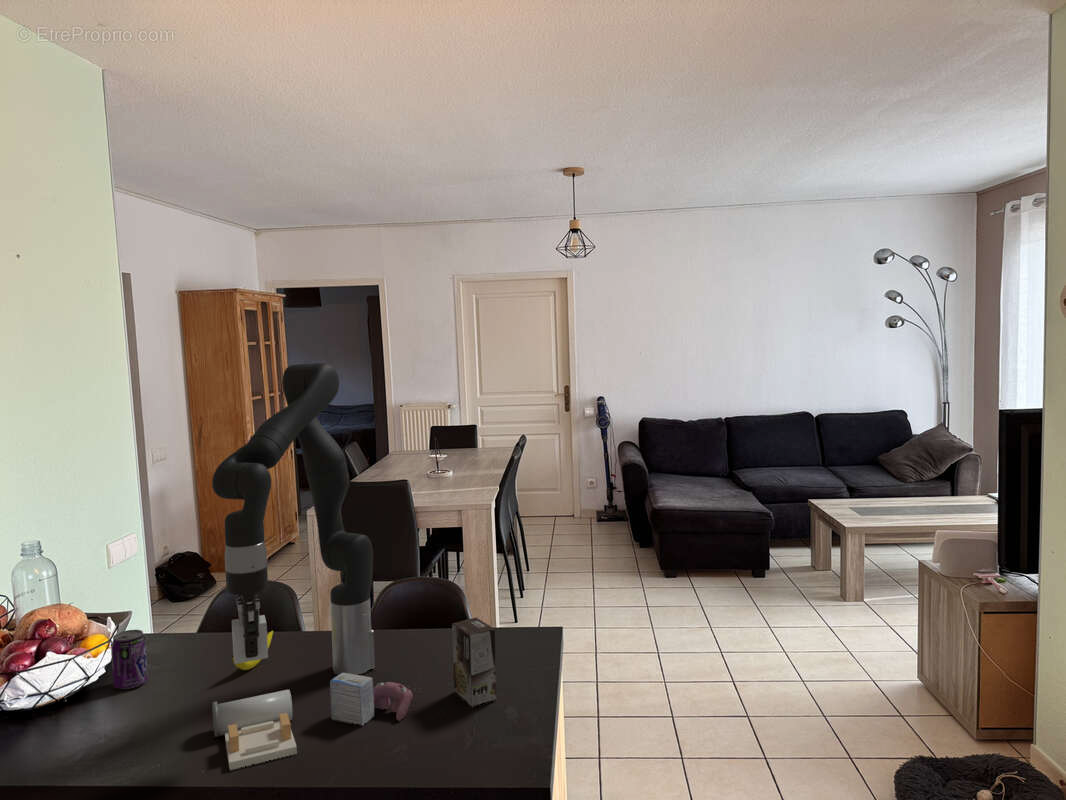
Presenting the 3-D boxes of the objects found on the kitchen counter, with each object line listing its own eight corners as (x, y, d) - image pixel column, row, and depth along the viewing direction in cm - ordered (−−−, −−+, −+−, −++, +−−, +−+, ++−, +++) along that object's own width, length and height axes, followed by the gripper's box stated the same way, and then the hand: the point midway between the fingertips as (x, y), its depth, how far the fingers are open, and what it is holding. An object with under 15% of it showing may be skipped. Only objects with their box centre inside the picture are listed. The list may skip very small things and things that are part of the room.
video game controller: (410, 722, 158) (418, 687, 160) (398, 721, 154) (406, 685, 156) (372, 713, 162) (380, 679, 164) (360, 712, 158) (368, 677, 161)
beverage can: (133, 692, 170) (130, 641, 169) (106, 690, 171) (103, 639, 170) (154, 679, 177) (152, 629, 176) (128, 676, 178) (125, 627, 177)
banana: (278, 649, 193) (277, 625, 193) (239, 682, 175) (238, 655, 174) (268, 648, 194) (267, 624, 193) (228, 681, 175) (226, 655, 174)
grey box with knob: (265, 649, 148) (263, 607, 148) (268, 657, 144) (266, 614, 143) (233, 655, 146) (231, 612, 145) (234, 663, 142) (232, 619, 141)
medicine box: (375, 717, 157) (373, 677, 157) (362, 727, 153) (361, 686, 152) (343, 710, 160) (342, 671, 160) (330, 720, 156) (329, 680, 155)
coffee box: (497, 700, 163) (496, 628, 162) (471, 708, 160) (469, 635, 159) (478, 684, 171) (476, 616, 170) (452, 692, 168) (451, 622, 167)
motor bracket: (288, 711, 160) (287, 681, 160) (302, 752, 144) (301, 719, 143) (213, 727, 154) (212, 696, 153) (219, 773, 137) (217, 738, 137)
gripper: (270, 572, 139) (275, 662, 140) (263, 553, 152) (267, 635, 153) (227, 579, 135) (232, 670, 137) (223, 558, 148) (227, 642, 150)
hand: (250, 651), depth 145 cm, fingers closed on grey box with knob, 4 cm apart
